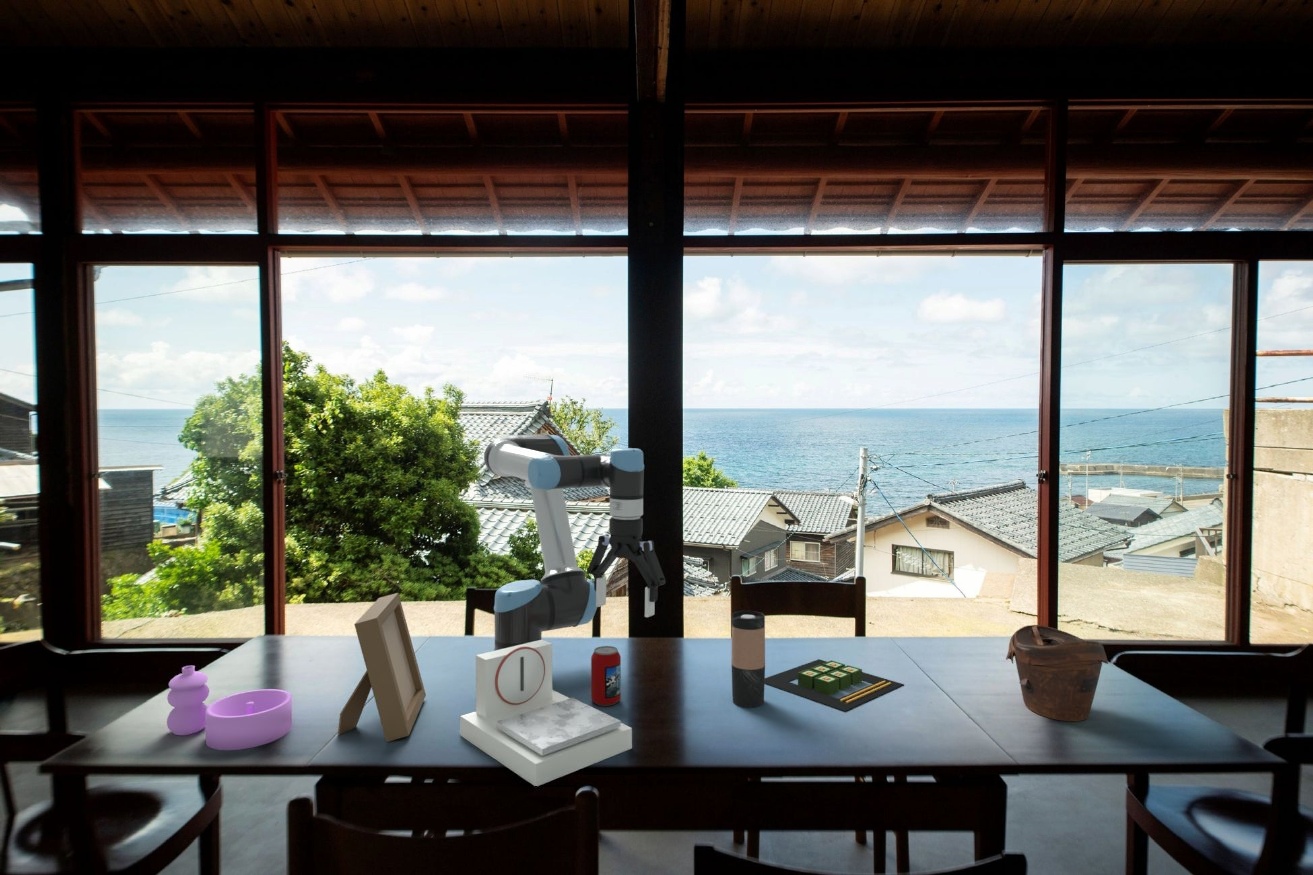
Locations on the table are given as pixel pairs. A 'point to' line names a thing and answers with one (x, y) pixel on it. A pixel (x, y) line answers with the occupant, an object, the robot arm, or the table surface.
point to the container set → (228, 713)
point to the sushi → (831, 684)
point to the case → (1056, 671)
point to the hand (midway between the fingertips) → (624, 610)
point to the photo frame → (386, 671)
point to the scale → (520, 687)
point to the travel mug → (748, 658)
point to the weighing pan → (557, 725)
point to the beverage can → (605, 676)
